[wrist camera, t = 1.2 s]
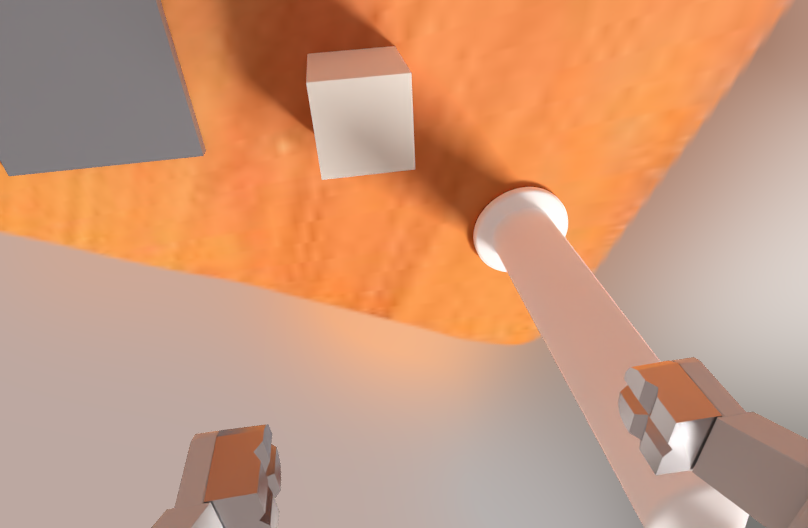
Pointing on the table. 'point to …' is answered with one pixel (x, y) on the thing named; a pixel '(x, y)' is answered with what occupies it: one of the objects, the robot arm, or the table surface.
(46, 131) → the slate plate
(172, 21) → the table surface
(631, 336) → the candle
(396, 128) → the cream block
